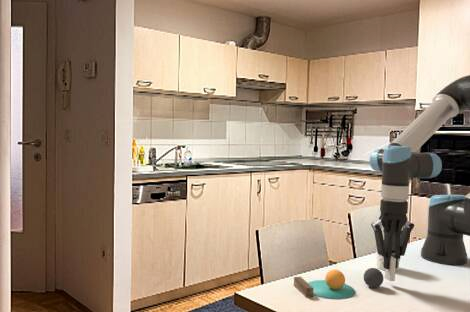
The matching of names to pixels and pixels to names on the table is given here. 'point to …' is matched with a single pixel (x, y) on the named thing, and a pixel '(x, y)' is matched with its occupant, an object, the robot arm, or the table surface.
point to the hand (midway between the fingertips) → (389, 279)
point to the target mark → (331, 290)
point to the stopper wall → (303, 286)
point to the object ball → (335, 279)
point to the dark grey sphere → (373, 277)
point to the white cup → (381, 260)
